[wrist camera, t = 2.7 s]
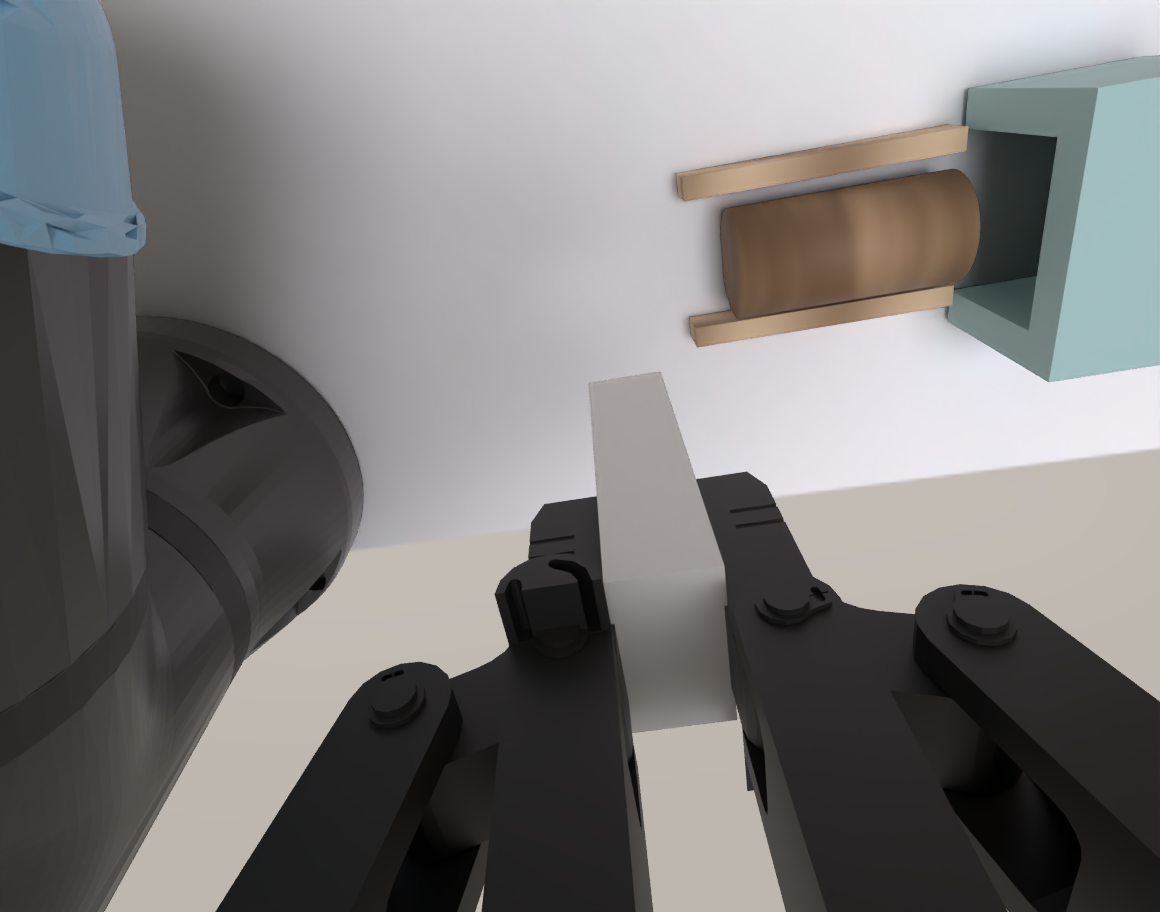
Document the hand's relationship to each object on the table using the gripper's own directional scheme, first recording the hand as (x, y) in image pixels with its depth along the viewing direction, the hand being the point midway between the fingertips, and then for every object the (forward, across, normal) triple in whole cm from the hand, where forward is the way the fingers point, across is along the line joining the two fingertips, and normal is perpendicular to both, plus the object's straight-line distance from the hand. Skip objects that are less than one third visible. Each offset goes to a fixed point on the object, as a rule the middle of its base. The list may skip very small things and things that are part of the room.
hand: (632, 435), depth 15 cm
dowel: (+15, +9, 0) cm, 17 cm away
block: (+15, +17, 0) cm, 22 cm away
